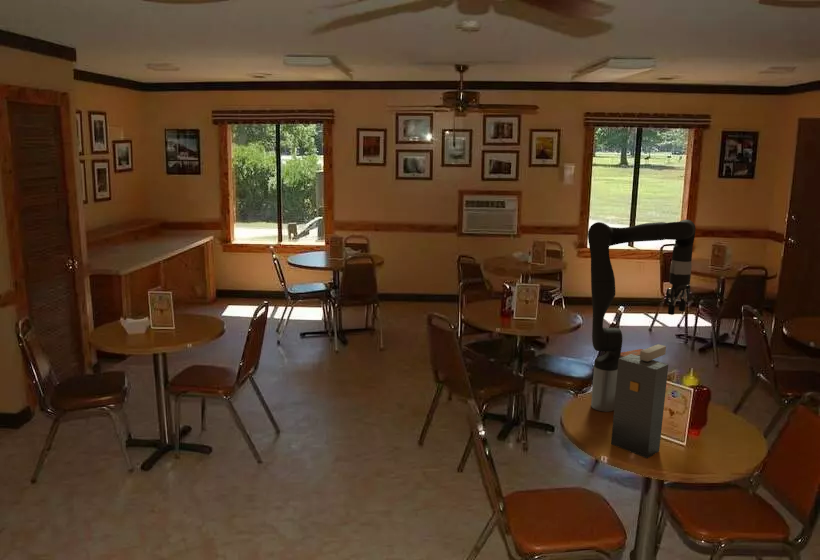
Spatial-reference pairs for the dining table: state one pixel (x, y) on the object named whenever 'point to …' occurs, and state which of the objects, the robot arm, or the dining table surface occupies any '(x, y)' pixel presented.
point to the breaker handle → (652, 352)
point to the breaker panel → (639, 405)
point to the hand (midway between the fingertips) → (676, 312)
